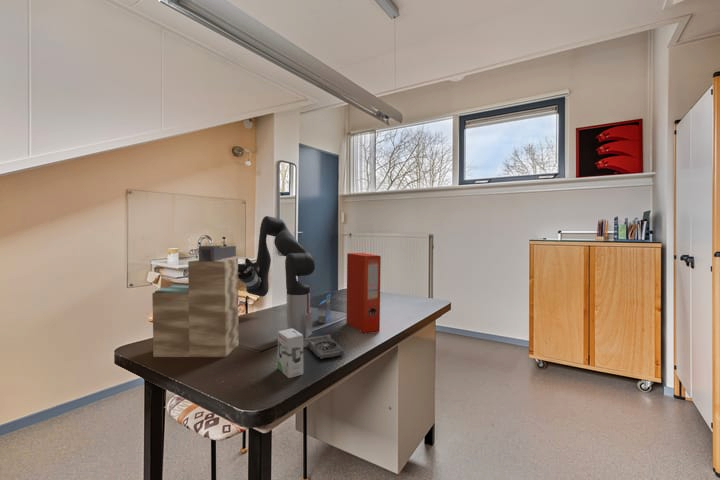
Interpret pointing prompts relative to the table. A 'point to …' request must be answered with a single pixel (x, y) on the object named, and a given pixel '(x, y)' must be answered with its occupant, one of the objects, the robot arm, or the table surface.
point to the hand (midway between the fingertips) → (235, 260)
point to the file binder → (363, 292)
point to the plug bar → (216, 252)
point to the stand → (198, 312)
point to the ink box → (290, 352)
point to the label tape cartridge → (324, 310)
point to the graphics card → (324, 347)
